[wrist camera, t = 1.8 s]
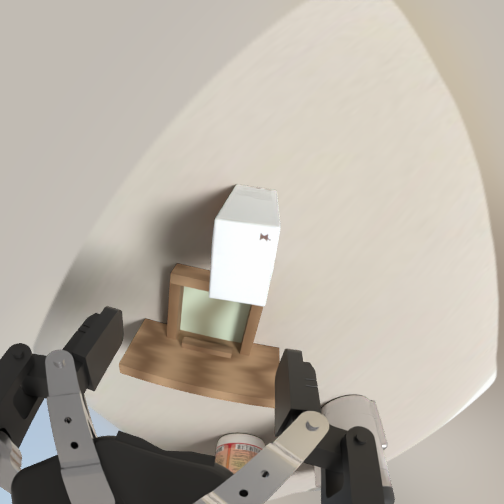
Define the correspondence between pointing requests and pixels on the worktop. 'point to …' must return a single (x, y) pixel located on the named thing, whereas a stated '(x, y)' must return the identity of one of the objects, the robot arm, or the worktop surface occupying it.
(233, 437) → the fruit juice
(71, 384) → the robot arm
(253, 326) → the wooden frame stand
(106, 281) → the worktop surface
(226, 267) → the skincare box
